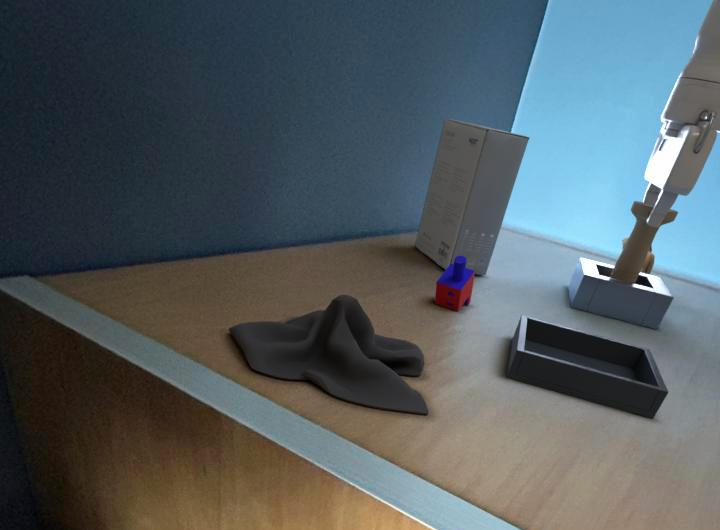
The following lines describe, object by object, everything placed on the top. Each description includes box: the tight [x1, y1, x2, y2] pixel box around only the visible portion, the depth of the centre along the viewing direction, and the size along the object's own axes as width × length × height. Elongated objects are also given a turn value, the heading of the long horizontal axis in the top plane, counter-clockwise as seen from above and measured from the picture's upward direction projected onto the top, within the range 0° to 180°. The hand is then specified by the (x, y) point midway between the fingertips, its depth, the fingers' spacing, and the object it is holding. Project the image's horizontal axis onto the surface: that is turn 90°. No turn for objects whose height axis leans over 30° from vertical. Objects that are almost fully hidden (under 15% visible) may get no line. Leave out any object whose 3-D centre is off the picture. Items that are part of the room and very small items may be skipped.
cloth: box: [228, 294, 430, 416], centre depth 55 cm, size 22×19×6 cm
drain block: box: [567, 257, 675, 330], centre depth 92 cm, size 13×13×5 cm
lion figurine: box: [621, 236, 656, 275], centre depth 106 cm, size 15×5×9 cm, turn 175°
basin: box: [506, 314, 669, 419], centre depth 65 cm, size 16×14×3 cm
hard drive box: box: [414, 117, 531, 276], centre depth 94 cm, size 16×8×20 cm, turn 15°
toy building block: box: [434, 256, 476, 312], centre depth 77 cm, size 4×4×8 cm
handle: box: [609, 200, 679, 284], centre depth 89 cm, size 5×6×15 cm
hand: (647, 221), depth 86 cm, fingers open, 8 cm apart
